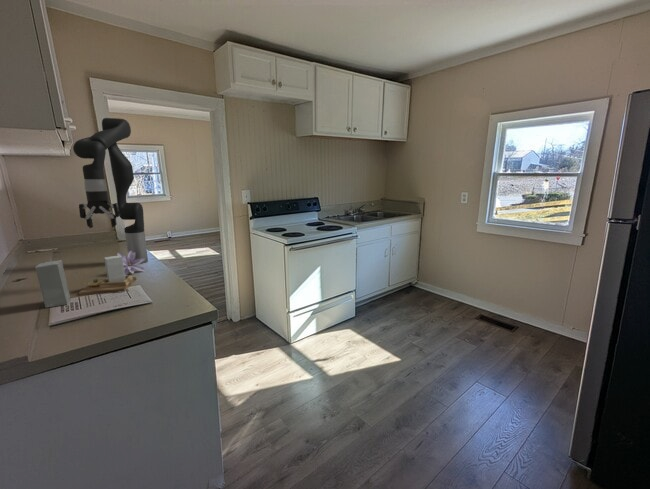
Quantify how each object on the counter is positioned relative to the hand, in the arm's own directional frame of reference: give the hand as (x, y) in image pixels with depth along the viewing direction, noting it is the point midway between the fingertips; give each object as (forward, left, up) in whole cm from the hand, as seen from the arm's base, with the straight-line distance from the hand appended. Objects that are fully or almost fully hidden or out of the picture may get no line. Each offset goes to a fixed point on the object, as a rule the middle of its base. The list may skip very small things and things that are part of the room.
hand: (102, 227), depth 134 cm
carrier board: (+8, +2, -25) cm, 27 cm away
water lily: (-12, +5, -25) cm, 28 cm away
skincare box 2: (+8, +5, -24) cm, 26 cm away
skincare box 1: (+23, -10, -25) cm, 36 cm away
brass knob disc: (+8, -3, -24) cm, 25 cm away
